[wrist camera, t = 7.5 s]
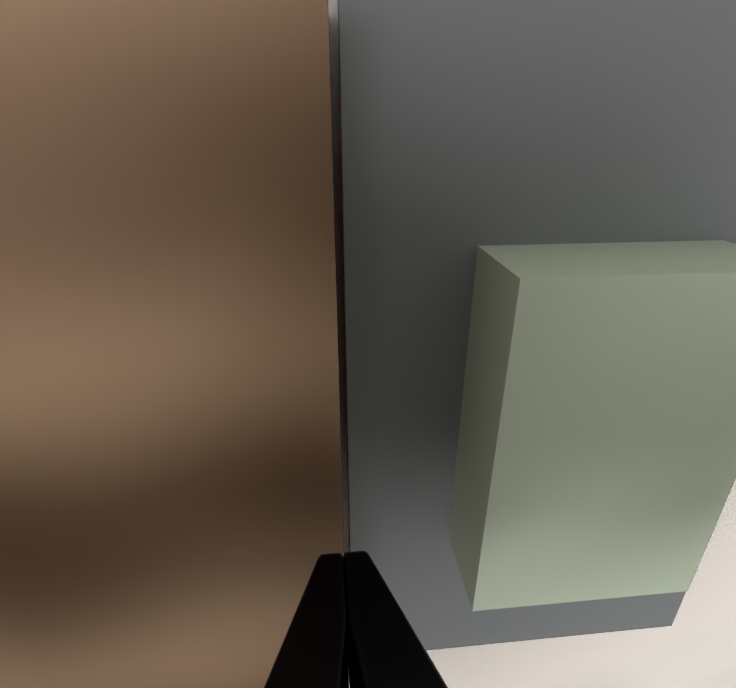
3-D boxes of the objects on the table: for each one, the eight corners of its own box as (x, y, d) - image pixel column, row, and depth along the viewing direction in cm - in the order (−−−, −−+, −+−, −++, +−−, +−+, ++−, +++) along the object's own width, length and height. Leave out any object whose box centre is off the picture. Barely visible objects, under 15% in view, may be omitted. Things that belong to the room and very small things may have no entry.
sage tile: (472, 611, 12) (448, 535, 15) (687, 591, 13) (632, 521, 15) (520, 278, 8) (477, 245, 11) (824, 270, 9) (722, 240, 11)
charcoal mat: (662, 613, 18) (671, 625, 18) (351, 643, 17) (352, 657, 17) (924, -34, 10) (953, -41, 9) (336, -53, 9) (337, -64, 8)
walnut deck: (342, 626, 17) (349, 765, 13) (-21, 660, 16) (-122, 822, 12) (322, 12, 9) (325, -60, 5) (-396, -3, 8) (-990, -107, 4)
